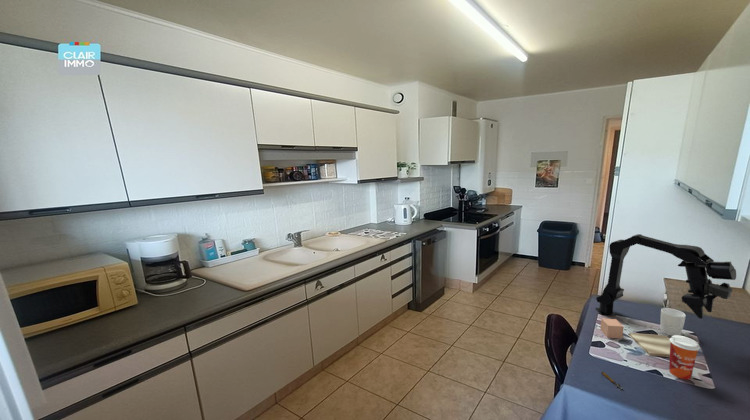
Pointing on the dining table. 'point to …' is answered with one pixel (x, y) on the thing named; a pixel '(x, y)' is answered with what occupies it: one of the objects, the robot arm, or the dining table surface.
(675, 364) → the paper cup
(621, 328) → the terracotta cube
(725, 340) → the dining table surface
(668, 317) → the white cup
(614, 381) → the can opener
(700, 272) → the robot arm
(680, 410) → the dining table surface
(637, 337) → the birch board
